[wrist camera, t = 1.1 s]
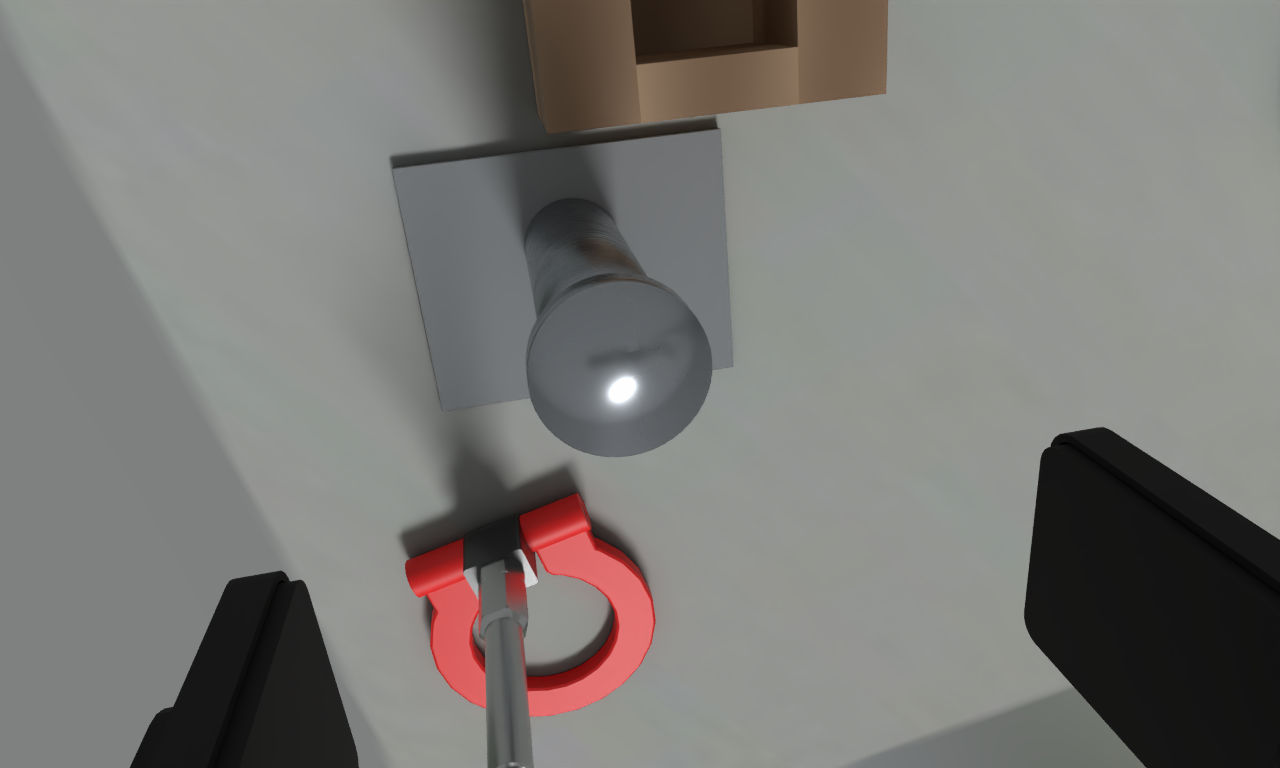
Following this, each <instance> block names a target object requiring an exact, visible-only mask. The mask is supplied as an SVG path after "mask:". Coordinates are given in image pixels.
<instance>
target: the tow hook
mask: <svg viewBox="0 0 1280 768" xmlns="http://www.w3.org/2000/svg"><path fill="white" fill-rule="evenodd" d="M535 551H536V552H537V554H538V556H539V558H540V560H541V562H542V564H543V566H544V568H545V570H546V572H548V573H550V574H553V575H565V576H569V577H573V578H578V579H581V580H583V581H585V582H587V583H589V584H591V585H593V586H595V587H596V588H597V589H598V590H599V591H601V592H602V593H603V594H604V595H605V596H606V597H607V598H608V600H609V602H610V603H611V605H612V607H613V609H614V613H615V616H614V623H613V629H612V631H611V633H610V635H609V637H608V639H607V641H606V643H605V644H604V645H603V647H602V648H601V649H600V650H599V651H598V652H597V653H596V655H594V656H593V657H592V658H590V659H589V660H587V661H586V662H585V663H583V664H582V665H580V666H578V667H576V668H573V669H571V670H569V671H567V672H564V673H560V674H555V675H551V676H541V677H527V675H526V663H525V650H524V638H525V637H526V631H527V625H528V608H527V596H526V587H529V586H531V585H534V584H536V583H537V582H538V578H537V569H536V559H535ZM405 570H406V575H407V579H408V582H409V584H410V587H411V589H412V590H413V592H414V593H415V595H416V596H418V597H422V596H424V595H426V596H427V597H428V599H429V600H430V602H431V604H432V605H433V607H434V608H433V611H432V621H431V641H430V647H431V650H432V654H433V657H434V660H435V664H436V667H437V669H438V670H439V672H440V673H441V675H442V676H443V677H444V679H445V680H446V681H447V683H448V684H449V686H450V687H451V688H452V689H454V690H455V691H456V692H458V693H459V694H460V695H462V696H463V697H464V698H466V699H467V700H468V701H470V702H471V703H474V704H476V705H479V706H481V707H483V708H486V722H487V768H534V765H533V752H532V739H531V726H530V716H551V715H555V714H559V713H564V712H568V711H573V710H577V709H579V708H581V707H584V706H586V705H588V704H591V703H593V702H595V701H597V700H600V699H602V698H603V697H605V696H606V695H608V694H609V693H610V692H612V691H613V690H615V689H616V688H618V687H619V686H620V685H622V684H623V683H624V682H625V681H626V680H627V679H628V678H629V677H630V676H631V674H632V673H633V672H634V671H635V670H636V669H637V668H638V667H639V666H640V664H641V662H642V661H643V659H644V657H645V655H646V653H647V651H648V649H649V647H650V645H651V643H652V637H653V632H654V627H655V614H654V607H653V600H652V596H651V592H650V589H649V587H648V585H647V583H646V581H645V579H644V577H643V575H642V573H641V571H640V569H639V568H638V567H637V566H636V565H635V564H634V563H633V562H632V561H631V560H630V559H629V558H628V557H627V556H626V555H625V554H624V553H623V552H622V551H620V550H618V549H617V548H615V547H613V546H611V545H609V544H607V543H605V542H604V541H602V540H600V539H598V538H594V536H593V534H592V532H591V521H590V518H589V515H588V512H587V509H586V507H585V504H584V502H583V500H582V498H581V497H580V495H579V494H578V493H576V494H573V495H571V496H568V497H566V498H563V499H561V500H558V501H556V502H553V503H551V504H548V505H546V506H543V507H540V508H538V509H535V510H533V511H530V512H528V513H525V514H523V515H519V514H515V515H513V516H510V517H507V518H505V519H502V520H500V521H497V522H495V523H492V524H490V525H487V526H485V527H482V528H480V529H477V530H475V531H472V532H470V533H467V534H466V535H465V536H464V538H462V539H460V540H457V541H455V542H452V543H450V544H447V545H445V546H442V547H440V548H437V549H435V550H432V551H430V552H427V553H425V554H422V555H420V556H417V557H415V558H412V559H410V560H407V561H406V564H405ZM478 612H479V637H480V638H481V639H482V640H483V641H484V642H485V658H484V657H483V655H482V654H481V652H480V651H479V649H478V648H477V646H476V645H475V642H474V638H473V635H472V627H473V624H474V622H475V619H476V617H477V615H478Z"/></svg>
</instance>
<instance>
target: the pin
mask: <svg viewBox="0 0 1280 768" xmlns="http://www.w3.org/2000/svg"><path fill="white" fill-rule="evenodd" d="M525 254H526V260H527V266H528V272H529V277H530V283H531V289H532V295H533V301H534V307H535V312H536V318H537V320H536V322H535V324H534V326H533V328H532V330H531V333H530V336H529V339H528V343H527V348H526V361H525V363H526V374H527V383H528V390H529V394H530V398H531V401H532V404H533V406H534V409H535V411H536V412H537V414H538V416H539V418H540V419H541V421H542V422H543V423H544V425H545V426H546V427H547V428H548V429H549V430H550V431H551V432H552V433H553V434H554V435H555V436H556V437H557V438H559V439H560V440H561V441H563V442H564V443H566V444H567V445H569V446H571V447H573V448H575V449H577V450H580V451H582V452H585V453H589V454H593V455H597V456H605V457H624V456H632V455H636V454H641V453H644V452H647V451H650V450H653V449H655V448H657V447H659V446H661V445H663V444H665V443H666V442H668V441H670V440H671V439H673V438H674V437H675V436H677V435H678V434H679V433H680V432H682V431H683V430H684V429H685V428H686V427H687V426H688V425H689V424H690V422H691V421H692V420H693V419H694V417H695V416H696V415H697V413H698V412H699V410H700V408H701V406H702V405H703V403H704V401H705V398H706V396H707V393H708V390H709V387H710V383H711V376H712V354H711V348H710V344H709V341H708V338H707V335H706V333H705V331H704V329H703V327H702V325H701V324H700V322H699V321H698V319H697V318H696V316H695V315H694V313H693V312H692V310H691V309H690V308H689V306H688V305H687V304H686V303H685V301H684V300H683V299H682V298H681V297H680V296H679V295H678V294H677V293H675V292H674V291H673V290H672V289H670V288H669V287H667V286H666V285H664V284H663V283H660V282H658V281H656V280H654V279H652V278H649V277H648V276H647V275H646V273H645V271H644V270H643V268H642V267H641V265H640V263H639V262H638V260H637V259H636V257H635V255H634V254H633V252H632V251H631V249H630V247H629V246H628V244H627V243H626V241H625V239H624V238H623V236H622V234H621V233H620V231H619V230H618V228H617V226H616V225H615V223H614V222H613V220H612V219H611V217H610V216H609V215H608V213H607V212H606V211H605V210H604V209H602V208H601V207H600V206H598V205H597V204H595V203H593V202H591V201H588V200H585V199H580V198H564V199H560V200H557V201H554V202H552V203H550V204H548V205H546V206H545V207H543V208H542V209H541V210H540V211H539V212H538V213H537V214H536V215H535V216H534V218H533V219H532V221H531V222H530V224H529V226H528V229H527V232H526V236H525Z"/></svg>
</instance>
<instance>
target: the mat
mask: <svg viewBox="0 0 1280 768" xmlns="http://www.w3.org/2000/svg"><path fill="white" fill-rule="evenodd" d="M392 170H393V175H394V180H395V185H396V190H397V195H398V199H399V204H400V209H401V214H402V219H403V223H404V228H405V233H406V238H407V243H408V247H409V252H410V257H411V262H412V267H413V271H414V276H415V281H416V286H417V291H418V296H419V300H420V305H421V310H422V315H423V320H424V324H425V329H426V334H427V339H428V344H429V348H430V353H431V358H432V363H433V368H434V372H435V377H436V382H437V387H438V392H439V397H440V401H441V406H442V411H449V410H456V409H462V408H469V407H475V406H482V405H488V404H495V403H501V402H508V401H514V400H521V399H527V398H530V394H529V390H528V383H527V374H526V363H525V361H526V348H527V343H528V339H529V336H530V333H531V330H532V328H533V326H534V324H535V322H536V320H537V318H536V312H535V307H534V301H533V295H532V289H531V283H530V277H529V272H528V266H527V260H526V254H525V236H526V232H527V229H528V226H529V224H530V222H531V221H532V219H533V218H534V216H535V215H536V214H537V213H538V212H539V211H540V210H541V209H542V208H543V207H545V206H546V205H548V204H550V203H552V202H554V201H557V200H560V199H564V198H580V199H585V200H588V201H591V202H593V203H595V204H597V205H598V206H600V207H601V208H602V209H604V210H605V211H606V212H607V213H608V215H609V216H610V217H611V219H612V220H613V222H614V223H615V225H616V226H617V228H618V230H619V231H620V233H621V234H622V236H623V238H624V239H625V241H626V243H627V244H628V246H629V247H630V249H631V251H632V252H633V254H634V255H635V257H636V259H637V260H638V262H639V263H640V265H641V267H642V268H643V270H644V271H645V273H646V275H647V276H648V277H649V278H652V279H654V280H656V281H658V282H660V283H663V284H664V285H666V286H667V287H669V288H670V289H672V290H673V291H674V292H675V293H677V294H678V295H679V296H680V297H681V298H682V299H683V300H684V301H685V303H686V304H687V305H688V306H689V308H690V309H691V310H692V312H693V313H694V315H695V316H696V318H697V319H698V321H699V322H700V324H701V325H702V327H703V329H704V331H705V333H706V335H707V338H708V341H709V344H710V348H711V354H712V370H716V369H722V368H729V367H734V366H733V348H732V330H731V312H730V293H729V275H728V257H727V239H726V220H725V202H724V184H723V166H722V147H721V129H719V128H714V129H706V130H697V131H689V132H681V133H673V134H665V135H656V136H648V137H640V138H632V139H624V140H615V141H607V142H599V143H591V144H582V145H574V146H566V147H558V148H550V149H541V150H533V151H525V152H517V153H509V154H500V155H492V156H484V157H476V158H467V159H459V160H451V161H443V162H435V163H426V164H418V165H410V166H402V167H394V168H393V169H392Z"/></svg>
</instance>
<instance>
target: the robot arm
mask: <svg viewBox="0 0 1280 768" xmlns="http://www.w3.org/2000/svg"><path fill="white" fill-rule="evenodd" d="M1024 619H1025V624H1026V627H1027V630H1028V633H1029V635H1030V637H1031V638H1032V640H1033V641H1034V642H1035V644H1036V645H1037V646H1038V647H1039V648H1040V649H1041V651H1042V652H1043V653H1044V654H1045V655H1046V656H1047V657H1048V658H1049V659H1050V661H1051V662H1052V663H1053V664H1054V665H1055V666H1056V667H1057V668H1058V670H1059V671H1060V672H1061V673H1062V674H1063V675H1064V676H1065V677H1066V678H1067V680H1068V681H1069V682H1070V683H1071V684H1072V685H1073V686H1074V687H1075V689H1076V690H1078V692H1079V693H1080V694H1081V695H1082V696H1083V697H1084V699H1086V701H1087V702H1088V703H1089V704H1090V705H1091V706H1092V708H1093V709H1094V710H1095V711H1096V712H1097V713H1098V714H1099V715H1100V716H1101V718H1102V719H1103V720H1104V721H1105V722H1106V723H1107V724H1108V725H1109V727H1111V729H1112V730H1113V731H1114V732H1115V733H1116V734H1117V735H1118V737H1119V738H1120V739H1121V740H1122V741H1123V742H1124V743H1125V744H1126V746H1127V747H1128V748H1129V749H1130V750H1131V751H1132V752H1133V753H1134V754H1135V756H1136V757H1137V758H1138V759H1139V760H1140V761H1141V762H1142V763H1143V764H1144V766H1145V767H1147V768H1280V540H1279V539H1277V538H1276V537H1274V536H1273V535H1271V534H1270V533H1268V532H1267V531H1265V530H1264V529H1262V528H1260V527H1259V526H1257V525H1256V524H1254V523H1253V522H1251V521H1250V520H1248V519H1247V518H1245V517H1244V516H1242V515H1240V514H1239V513H1237V512H1236V511H1234V510H1233V509H1231V508H1230V507H1228V506H1227V505H1225V504H1224V503H1222V502H1220V501H1219V500H1217V499H1216V498H1214V497H1213V496H1211V495H1210V494H1208V493H1207V492H1205V491H1203V490H1202V489H1200V488H1199V487H1197V486H1196V485H1194V484H1193V483H1191V482H1190V481H1188V480H1187V479H1185V478H1183V477H1182V476H1180V475H1179V474H1177V473H1176V472H1174V471H1173V470H1171V469H1170V468H1168V467H1167V466H1165V465H1163V464H1162V463H1160V462H1159V461H1157V460H1156V459H1154V458H1153V457H1151V456H1150V455H1148V454H1147V453H1145V452H1143V451H1142V450H1140V449H1139V448H1137V447H1136V446H1134V445H1133V444H1131V443H1130V442H1128V441H1127V440H1125V439H1123V438H1122V437H1120V436H1119V435H1117V434H1116V433H1114V432H1113V431H1111V430H1109V429H1107V428H1104V427H1100V428H1092V429H1087V430H1081V431H1075V432H1069V433H1064V434H1060V435H1058V436H1056V437H1055V438H1054V440H1053V441H1052V443H1051V447H1048V448H1047V449H1045V450H1044V452H1043V453H1042V456H1041V461H1040V470H1039V479H1038V488H1037V498H1036V507H1035V516H1034V526H1033V535H1032V544H1031V554H1030V563H1029V572H1028V582H1027V591H1026V600H1025V609H1024ZM130 768H359V766H358V756H357V751H356V746H355V743H354V740H353V737H352V733H351V730H350V727H349V723H348V720H347V717H346V714H345V710H344V707H343V704H342V700H341V697H340V694H339V691H338V688H337V684H336V681H335V677H334V674H333V671H332V667H331V664H330V661H329V658H328V654H327V651H326V648H325V645H324V641H323V638H322V635H321V631H320V628H319V625H318V622H317V618H316V615H315V612H314V608H313V605H312V602H311V599H310V595H309V592H308V589H307V587H306V584H305V583H304V581H302V580H296V581H291V582H290V581H289V578H288V577H287V575H286V574H285V573H284V572H283V571H276V572H271V573H265V574H259V575H254V576H248V577H242V578H236V579H232V580H230V581H229V583H228V584H227V585H226V588H225V590H224V592H223V594H222V597H221V599H220V601H219V604H218V606H217V608H216V610H215V613H214V615H213V618H212V620H211V622H210V624H209V626H208V629H207V631H206V633H205V636H204V638H203V640H202V642H201V645H200V647H199V650H198V652H197V654H196V656H195V658H194V661H193V663H192V665H191V668H190V670H189V672H188V674H187V677H186V679H185V681H184V684H183V686H182V688H181V690H180V693H179V695H178V697H177V700H176V702H175V704H174V706H173V707H170V708H165V709H163V710H162V711H160V712H159V713H157V714H156V716H155V717H154V719H153V720H152V722H151V724H150V725H149V727H148V729H147V732H146V734H145V736H144V738H143V740H142V742H141V745H140V747H139V749H138V751H137V753H136V755H135V758H134V760H133V762H132V764H131V766H130Z"/></svg>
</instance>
